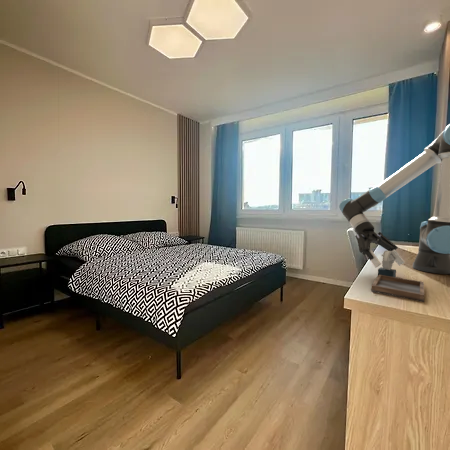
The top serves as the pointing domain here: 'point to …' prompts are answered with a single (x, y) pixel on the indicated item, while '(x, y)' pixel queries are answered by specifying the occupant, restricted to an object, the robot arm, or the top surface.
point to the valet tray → (399, 287)
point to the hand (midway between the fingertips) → (390, 264)
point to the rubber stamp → (388, 264)
